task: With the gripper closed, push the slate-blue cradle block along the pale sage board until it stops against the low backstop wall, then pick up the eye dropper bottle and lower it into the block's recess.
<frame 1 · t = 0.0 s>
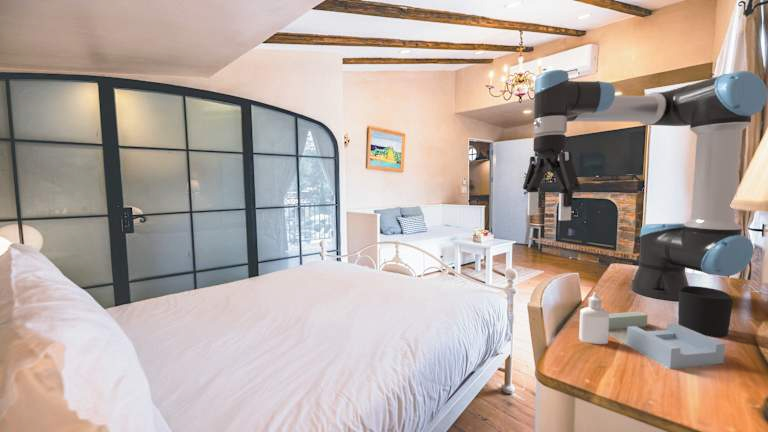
hand: (547, 217, 86), 28 cm above the table, fingers open, 13 cm apart
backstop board: (651, 345, 74), on the table
pen holder: (701, 332, 80), on the table
cradle block: (672, 343, 69), point 3 cm above the table, slide at 7.0 cm
eye dropper bottle: (593, 343, 76), on the table
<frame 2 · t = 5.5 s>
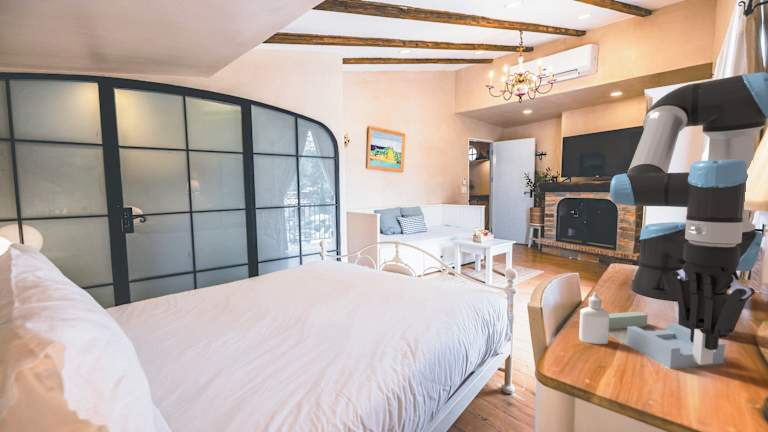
hand: (702, 361, 64), 2 cm above the table, fingers closed
cradle block: (672, 343, 69), point 3 cm above the table, slide at 7.0 cm, touching gripper
everything else where it was.
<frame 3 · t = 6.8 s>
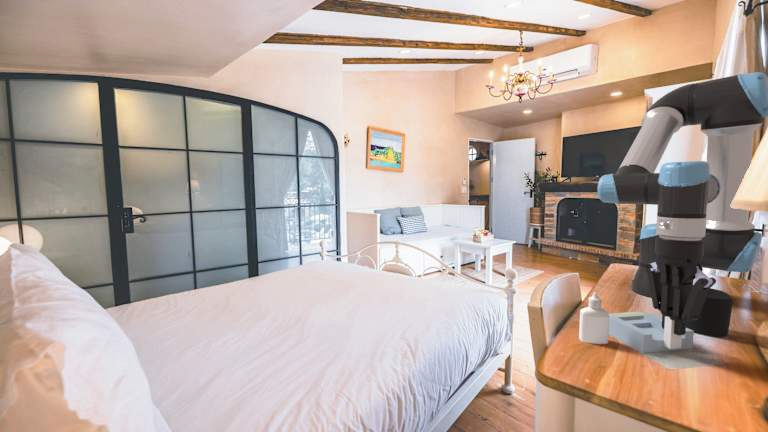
hand: (672, 346, 70), 2 cm above the table, fingers closed
cradle block: (647, 331, 75), point 3 cm above the table, slide at 1.1 cm, touching gripper
everything else where it was.
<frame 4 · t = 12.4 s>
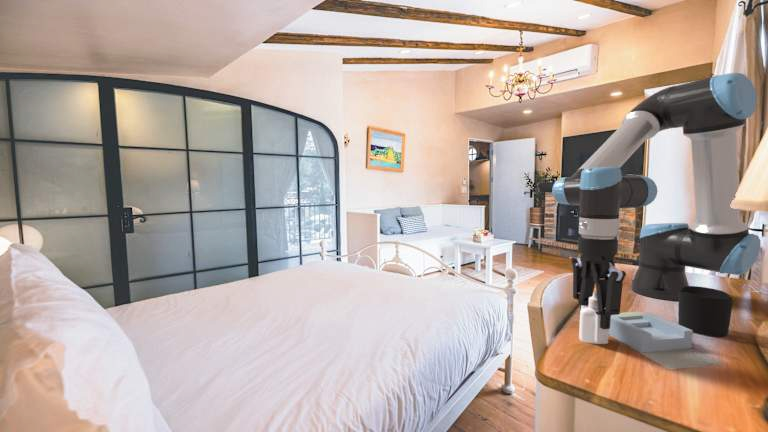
hand: (593, 336, 76), 2 cm above the table, fingers closed on eye dropper bottle, 4 cm apart
cradle block: (646, 331, 75), point 3 cm above the table, slide at 0.9 cm
eye dropper bottle: (593, 343, 76), on the table, touching gripper
everything else where it was.
when the fingers open (5 cm above the table, at t = 17.1 s): eye dropper bottle drops 1 cm, resting on cradle block.
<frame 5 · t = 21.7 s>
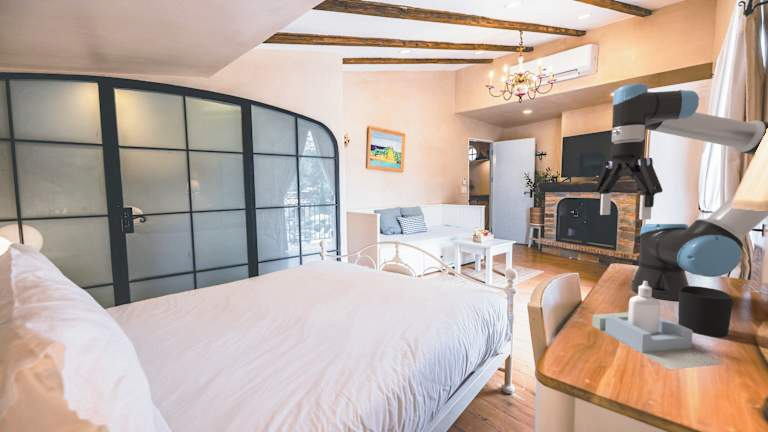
hand: (623, 217, 95), 27 cm above the table, fingers open, 13 cm apart
cradle block: (646, 331, 75), point 3 cm above the table, slide at 0.8 cm, touching eye dropper bottle
eye dropper bottle: (642, 332, 76), point 2 cm above the table, touching cradle block
everything else where it was.
at the end: cradle block slide at 0.8 cm; eye dropper bottle 0.9 cm off-centre on the cradle block, point 1.3 cm above the cradle block's base; eye dropper bottle tilted 0° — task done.
